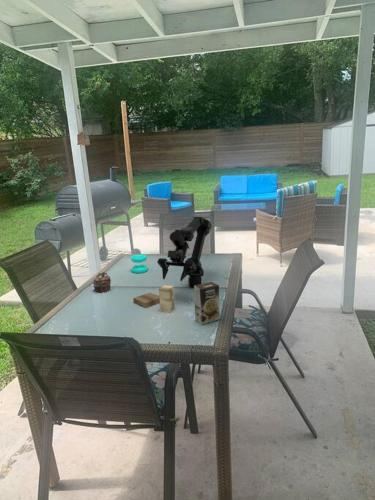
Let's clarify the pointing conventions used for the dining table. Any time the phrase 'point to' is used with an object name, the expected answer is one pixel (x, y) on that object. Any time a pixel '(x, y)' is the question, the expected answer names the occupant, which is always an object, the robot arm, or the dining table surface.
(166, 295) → the maple block
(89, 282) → the dining table surface
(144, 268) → the cyan spool
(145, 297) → the walnut slab
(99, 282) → the cupcake
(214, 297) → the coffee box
